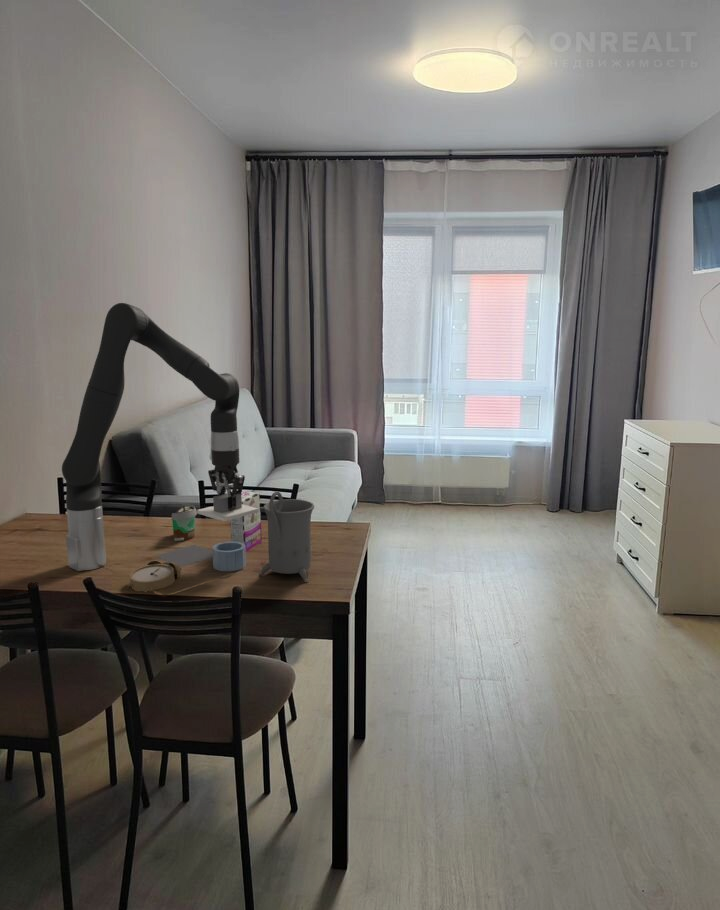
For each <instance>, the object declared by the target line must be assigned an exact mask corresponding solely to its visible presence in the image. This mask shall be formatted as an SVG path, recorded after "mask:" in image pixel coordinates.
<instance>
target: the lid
mask: <svg viewBox="0 0 720 910" xmlns="http://www.w3.org/2000/svg"><path fill="white" fill-rule="evenodd" d="M226 493H227V492H226ZM241 494H242V493H241ZM241 494H240V495H237V496H236V509H233V510H229V509H228V493H227V494H223V495H219V496H218V495H215V496H212V499H213V506H208V507H204V508H199V509H196V511H197V515H202V516H205V517H208V518H210V519H211V518H212V519H215V520H218V521H222V522H227V521H230V520H231V519H235V518H239V517H242V516H246V515H250V514H253V513H257V512H259V509H258V508H254V507H251V506H247V505H243V504H242V499H241Z"/></svg>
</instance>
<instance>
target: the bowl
mask: <svg viewBox="0 0 720 910" xmlns="http://www.w3.org/2000/svg"><path fill="white" fill-rule="evenodd" d="M211 547H212V550H211V551H212V552H213V558H212V566H213V569H214V570H217V571H220V572H232V571H233V572H234V573H236V572H241V571H243V570H244V569H245V567H246V566H247V552H246V546H245V544H243V543H241V542H232V541H231V540H230V541H224V542H223V541H222V542H218V543H216V544H214V545H213V546H211Z"/></svg>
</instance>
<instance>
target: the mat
mask: <svg viewBox="0 0 720 910" xmlns="http://www.w3.org/2000/svg"><path fill="white" fill-rule="evenodd" d="M154 557H156V558H158V559H161V560H163V561H165V562H174V563H177V564H178V565H179V567H180V568H183V567H186V566H189V565H192V564H197V563H199V562H202V561H205V560H206V561H207V560H210V559H213V552H212V550H211V549H208V548H205V547H203V546H200V545H198V544H191V545H189V546H185V547H181V548H178V549H174V550H170V551H166V552H163V553H160V554H156V555H154Z"/></svg>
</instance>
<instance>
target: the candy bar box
mask: <svg viewBox="0 0 720 910" xmlns="http://www.w3.org/2000/svg"><path fill="white" fill-rule="evenodd" d="M241 499H242V504H243V505H247V506H251V507H254V508H258V509H259V512H257V513H253V514H250V515H246V516H242V517H239V518H235V519H231V520H229V522H230V538H231V539H230V542H231V541H232V542H241V543H243V544H245V546H246V553H247V552H248V551H249V550H251V549H253V548H254V547H256V546H258V545H261V544H262V543H263V540H262V539H263V538H262V535H263V534H262V520H261V519H262V518H261V515H262V514H261V495H260V492H256V491H245V492H243V493H241Z"/></svg>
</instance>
